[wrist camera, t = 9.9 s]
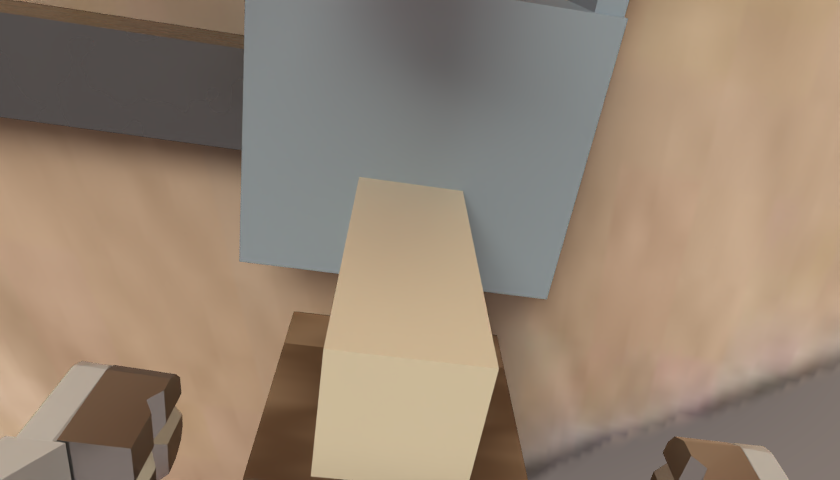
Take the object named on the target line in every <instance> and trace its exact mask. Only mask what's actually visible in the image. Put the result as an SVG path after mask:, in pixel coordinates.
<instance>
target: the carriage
mask: <svg viewBox="0 0 840 480" xmlns="http://www.w3.org/2000/svg"><path fill="white" fill-rule="evenodd" d="M628 3H629V0H245V27H244V73H243V119H242V166H241V212H240V258H239V261H240V262H248V263H256V264H264V265H272V266H280V267H288V268H297V269H305V270H313V271H321V272H329V273H337V274H339V276H338V281H337V286H336V291H335V296H334V301H333V305H332V310H331V315H330V320H329V325H328V330H327V334H326V339H325V344H324V349H323V359H322V369H321V379H320V389H319V399H318V409H317V419H316V429H315V439H314V449H313V459H312V469H311V476H312V477H323V478H333V479H343V480H470V476H471V473H472V469H473V465H474V461H475V457H476V454H477V450H478V446H479V442H480V438H481V435H482V431H483V427H484V423H485V420H486V416H487V412H488V408H489V404H490V401H491V397H492V393H493V389H494V385H495V382H496V378H497V374H498V370H499V367H498V362H497V357H496V352H495V347H494V342H493V337H492V332H491V328H490V323H489V318H488V313H487V308H486V303H485V298H484V293H483V292H491V293H499V294H507V295H515V296H523V297H531V298H540V299H547V297H548V293H549V290H550V287H551V283H552V280H553V276H554V273H555V269H556V266H557V262H558V259H559V255H560V252H561V249H562V245H563V242H564V238H565V235H566V231H567V228H568V224H569V221H570V217H571V214H572V211H573V207H574V204H575V200H576V197H577V193H578V190H579V186H580V183H581V179H582V176H583V173H584V169H585V166H586V162H587V159H588V155H589V152H590V148H591V145H592V141H593V138H594V135H595V131H596V128H597V124H598V121H599V117H600V114H601V110H602V107H603V103H604V100H605V97H606V93H607V90H608V86H609V83H610V79H611V76H612V72H613V69H614V66H615V62H616V59H617V55H618V52H619V48H620V45H621V41H622V38H623V34H624V31H625V28H626V24H627V21H628V19H627V18H625V13H626V10H627V6H628Z"/></svg>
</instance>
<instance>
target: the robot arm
mask: <svg viewBox="0 0 840 480" xmlns="http://www.w3.org/2000/svg"><path fill="white" fill-rule="evenodd" d="M180 395H181V385H180V377H179V376H177V375H176V374H171V373H164V372H157V371H151V370H144V369H137V368H131V367H124V366H117V365H113V366H111V365H105V364H99V363H92V362H86V361H81V362H79V363H77V364H75V365H74V366H72V367H71V369H70V370H69V371H68V372H67V374H66V375H65V376H64V377H63V379H62V380H61V381H60V382H59V384H58V385H57V386H56V387H55V389H54V390H53V391H52V392H51V394H50V395H49V396H48V397H47V399H46V400H45V401H44V402H43V404H42V405H41V406H40V407H39V409H38V410H37V411H36V412H35V414H34V415H33V416H32V417H31V419H30V420H29V421H28V422H27V424H26V425H25V426H24V427H23V429H22V430H21V431H20V432H19V434H18V435H17V436H16V437H12V436H4V437H2V438H0V480H160V479H162V478H163V477H165V476H166V475H167V474H169V472H170V470H171V468H172V465H173V463H174V461H175V459H176V455H177V452H178V448H179V445H180V441H181V434H182V413H181V412H180V411H179V410H178V409H177V408H176V407H175V405H176V403H177V401H178V399H179V397H180ZM663 454H664V456H665V459H666V461H667V464H665V465H664V466H662V467H660V468H659V469H657V470H655V471H654V473H653V475H652V477H651V480H789V479H788V478H787V476H786V474H785V473H784V471H783V470H782V468H781V467H780V465H779V463H778V462H777V460H776V459H775V457H774V456H773V454H772V453H771V452H770V451H769V450H768V449H766V448H765V447H763V446H756V445H747V444H738V443H733V444H731V443H726V442H718V441H709V440H701V439H692V438H683V437H674V438H672V439H671V440H670V441H669V442H668V443H667V445H666V448H665V449H664V452H663Z"/></svg>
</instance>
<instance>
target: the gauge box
mask: <svg viewBox="0 0 840 480" xmlns="http://www.w3.org/2000/svg"><path fill="white" fill-rule="evenodd" d="M329 320H330V316H327V315H318V314H310V313H301V312H294V313H293V316H292V319H291V323H290V326H289V329H288V333H287V336H286V339H285V342H284V346H283V349H282V352H281V356H280V359H279V362H278V365H277V369H276V372H275V375H274V378H273V382H272V385H271V388H270V392H269V395H268V398H267V401H266V405H265V408H264V411H263V415H262V418H261V421H260V424H259V428H258V431H257V434H256V437H255V441H254V444H253V447H252V451H251V454H250V457H249V460H248V464H247V467H246V470H245V474H244V477H243V480H343V479H333V478H323V477H312V476H311V469H312V459H313V449H314V439H315V429H316V419H317V409H318V399H319V389H320V379H321V369H322V359H323V349H324V344H325V339H326V334H327V330H328V325H329ZM492 337H493V342H494V347H495V352H496V357H497V362H498V367H499V370H498V374H497V378H496V382H495V385H494V389H493V393H492V397H491V401H490V404H489V408H488V412H487V416H486V420H485V423H484V427H483V431H482V435H481V438H480V442H479V446H478V450H477V454H476V457H475V461H474V465H473V469H472V473H471V476H470V480H528V479H527V474H526V469H525V465H524V460H523V455H522V451H521V446H520V441H519V437H518V432H517V427H516V423H515V418H514V413H513V409H512V404H511V399H510V394H509V390H508V385H507V380H506V376H505V371H504V366H503V362H502V357H501V352H500V348H499V343H498V338H497V335H492Z"/></svg>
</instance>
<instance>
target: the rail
mask: <svg viewBox="0 0 840 480" xmlns="http://www.w3.org/2000/svg"><path fill="white" fill-rule="evenodd" d="M243 73H244V35H237V34H231V33H224V32H218V31H211V30H205V29H198V28H192V27H185V26H179V25H172V24H166V23H159V22H152V21H146V20H139V19H133V18H126V17H120V16H113V15H107V14H100V13H94V12H87V11H81V10H74V9H68V8H61V7H54V6H48V5H41V4H35V3H28V2H22V1H15V0H0V117H5V118H12V119H19V120H26V121H34V122H41V123H48V124H55V125H63V126H70V127H77V128H84V129H92V130H99V131H106V132H113V133H121V134H128V135H135V136H142V137H150V138H157V139H164V140H171V141H179V142H186V143H193V144H200V145H207V146H215V147H222V148H229V149H236V150H242V119H243Z"/></svg>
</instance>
